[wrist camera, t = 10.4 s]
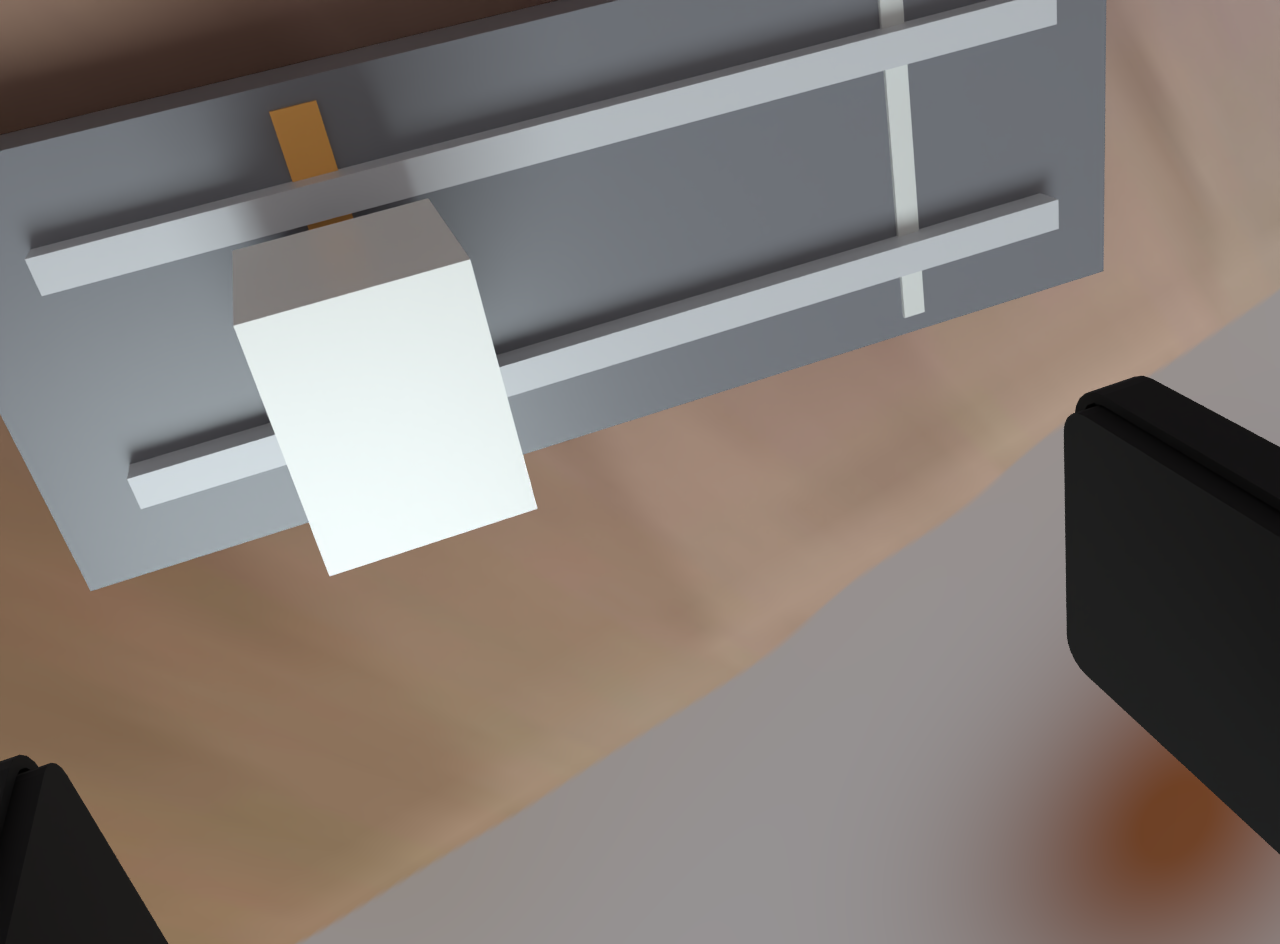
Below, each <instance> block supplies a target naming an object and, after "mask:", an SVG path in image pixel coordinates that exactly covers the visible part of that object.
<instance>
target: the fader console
mask: <svg viewBox="0 0 1280 944" xmlns="http://www.w3.org/2000/svg"><path fill="white" fill-rule="evenodd" d="M1105 66H1106V0H557V1H553V2H549V3H545V4H541V5H537V6H533V7H528V8H524V9H520V10H516V11H512V12H508V13H504V14H499V15H495V16H491V17H487V18H483V19H479V20H475V21H470V22H466V23H462V24H458V25H454V26H450V27H446V28H441V29H437V30H433V31H429V32H425V33H421V34H417V35H412V36H408V37H404V38H400V39H396V40H392V41H388V42H383V43H379V44H375V45H371V46H367V47H363V48H359V49H354V50H350V51H346V52H342V53H338V54H334V55H330V56H326V57H321V58H317V59H313V60H309V61H305V62H301V63H297V64H292V65H288V66H284V67H280V68H276V69H272V70H268V71H263V72H259V73H255V74H251V75H247V76H243V77H239V78H234V79H230V80H226V81H222V82H218V83H214V84H210V85H205V86H201V87H197V88H193V89H189V90H185V91H181V92H176V93H172V94H168V95H164V96H160V97H156V98H152V99H147V100H143V101H139V102H135V103H131V104H127V105H123V106H118V107H114V108H110V109H106V110H102V111H98V112H94V113H89V114H85V115H81V116H77V117H73V118H69V119H65V120H60V121H56V122H52V123H48V124H44V125H40V126H36V127H31V128H27V129H23V130H19V131H15V132H11V133H7V134H2V135H0V414H1V416H2V418H3V420H4V422H5V424H6V426H7V428H8V430H9V432H10V434H11V436H12V438H13V440H14V442H15V444H16V446H17V448H18V450H19V452H20V453H21V455H22V457H23V459H24V461H25V463H26V465H27V467H28V469H29V471H30V473H31V475H32V477H33V479H34V481H35V483H36V485H37V487H38V489H39V491H40V493H41V495H42V497H43V498H44V500H45V502H46V504H47V506H48V508H49V510H50V512H51V514H52V516H53V518H54V520H55V522H56V524H57V526H58V528H59V530H60V532H61V534H62V536H63V538H64V540H65V542H66V544H67V545H68V547H69V549H70V551H71V553H72V555H73V557H74V559H75V561H76V563H77V565H78V567H79V569H80V571H81V573H82V575H83V577H84V579H85V581H86V583H87V585H88V587H89V589H90V590H91V591H93V590H96V589H99V588H102V587H105V586H108V585H112V584H115V583H118V582H121V581H124V580H127V579H131V578H134V577H137V576H140V575H143V574H146V573H150V572H153V571H156V570H159V569H162V568H165V567H169V566H172V565H175V564H178V563H181V562H184V561H188V560H191V559H194V558H197V557H200V556H203V555H207V554H210V553H213V552H216V551H219V550H222V549H226V548H229V547H232V546H235V545H238V544H241V543H245V542H248V541H251V540H254V539H257V538H260V537H263V536H267V535H270V534H273V533H276V532H279V531H282V530H286V529H289V528H292V527H295V526H298V525H301V524H305V523H308V522H309V521H308V519H307V516H306V513H305V511H304V508H303V506H302V503H301V500H300V498H299V495H298V493H297V490H296V487H295V485H294V482H293V480H292V477H291V474H290V472H289V469H288V467H287V464H286V461H285V459H284V456H283V454H282V451H281V448H280V446H279V443H278V441H277V438H276V435H275V433H274V430H273V428H272V425H271V422H270V420H269V417H268V415H267V412H266V409H265V407H264V404H263V402H262V399H261V396H260V394H259V391H258V389H257V386H256V383H255V381H254V378H253V376H252V373H251V370H250V368H249V365H248V363H247V360H246V357H245V355H244V352H243V350H242V347H241V344H240V342H239V339H238V337H237V334H236V331H235V329H234V326H233V263H232V251H234V250H237V249H241V248H245V247H249V246H252V245H256V244H260V243H263V242H267V241H271V240H275V239H278V238H282V237H286V236H290V235H293V234H297V233H301V232H304V231H308V230H312V229H316V228H319V227H323V226H327V225H330V224H334V223H338V222H342V221H345V220H349V219H353V218H356V217H360V216H364V215H368V214H371V213H375V212H379V211H382V210H386V209H390V208H394V207H397V206H401V205H405V204H409V203H412V202H416V201H420V200H423V199H427V198H428V199H429V200H430V202H431V203H432V205H433V206H434V207H435V209H436V210H437V212H438V213H439V215H440V216H441V218H442V219H443V220H444V222H445V223H446V225H447V226H448V228H449V229H450V231H451V232H452V234H453V235H454V236H455V238H456V239H457V241H458V242H459V244H460V245H461V247H462V248H463V249H464V251H465V252H466V254H467V255H468V257H469V258H470V260H471V264H472V267H473V271H474V275H475V279H476V282H477V286H478V290H479V294H480V297H481V301H482V305H483V308H484V312H485V316H486V320H487V323H488V327H489V331H490V334H491V338H492V342H493V346H494V349H495V353H496V357H497V361H498V364H499V368H500V372H501V375H502V379H503V383H504V387H505V390H506V394H507V398H508V401H509V405H510V409H511V413H512V416H513V420H514V424H515V427H516V431H517V435H518V439H519V442H520V446H521V450H522V454H526V453H529V452H532V451H536V450H539V449H542V448H545V447H548V446H551V445H555V444H558V443H561V442H564V441H567V440H570V439H574V438H577V437H580V436H583V435H586V434H589V433H593V432H596V431H599V430H602V429H605V428H608V427H612V426H615V425H618V424H621V423H624V422H627V421H631V420H634V419H637V418H640V417H643V416H646V415H650V414H653V413H656V412H659V411H662V410H665V409H668V408H672V407H675V406H678V405H681V404H684V403H687V402H691V401H694V400H697V399H700V398H703V397H706V396H710V395H713V394H716V393H719V392H722V391H725V390H729V389H732V388H735V387H738V386H741V385H744V384H748V383H751V382H754V381H757V380H760V379H763V378H767V377H770V376H773V375H776V374H779V373H782V372H786V371H789V370H792V369H795V368H798V367H801V366H805V365H808V364H811V363H814V362H817V361H820V360H824V359H827V358H830V357H833V356H836V355H839V354H843V353H846V352H849V351H852V350H855V349H858V348H862V347H865V346H868V345H871V344H874V343H877V342H880V341H884V340H887V339H890V338H893V337H896V336H899V335H903V334H906V333H909V332H912V331H915V330H918V329H922V328H925V327H928V326H931V325H934V324H937V323H941V322H944V321H947V320H950V319H953V318H956V317H960V316H963V315H966V314H969V313H972V312H975V311H979V310H982V309H985V308H988V307H991V306H994V305H998V304H1001V303H1004V302H1007V301H1010V300H1013V299H1017V298H1020V297H1023V296H1026V295H1029V294H1032V293H1036V292H1039V291H1042V290H1045V289H1048V288H1051V287H1055V286H1058V285H1061V284H1064V283H1067V282H1070V281H1073V280H1077V279H1080V278H1083V277H1086V276H1089V275H1092V274H1096V273H1099V272H1102V271H1103V257H1104V162H1105Z"/></svg>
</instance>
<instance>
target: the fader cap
mask: <svg viewBox="0 0 1280 944" xmlns="http://www.w3.org/2000/svg"><path fill="white" fill-rule="evenodd" d="M232 263H233V326H234V329H235V331H236V334H237V337H238V339H239V342H240V344H241V347H242V350H243V352H244V355H245V357H246V360H247V363H248V365H249V368H250V370H251V373H252V376H253V378H254V381H255V383H256V386H257V389H258V391H259V394H260V396H261V399H262V402H263V404H264V407H265V409H266V412H267V415H268V417H269V420H270V422H271V425H272V428H273V430H274V433H275V435H276V438H277V441H278V443H279V446H280V448H281V451H282V454H283V456H284V459H285V461H286V464H287V467H288V469H289V472H290V474H291V477H292V480H293V482H294V485H295V487H296V490H297V493H298V495H299V498H300V500H301V503H302V506H303V508H304V511H305V513H306V516H307V519H308V521H309V524H310V526H311V529H312V532H313V534H314V537H315V539H316V542H317V545H318V547H319V550H320V552H321V555H322V558H323V560H324V563H325V565H326V568H327V571H328V573H329V576H332V575H335V574H338V573H341V572H344V571H347V570H350V569H353V568H357V567H360V566H363V565H366V564H369V563H372V562H375V561H378V560H381V559H384V558H387V557H390V556H393V555H396V554H399V553H403V552H406V551H409V550H412V549H415V548H418V547H421V546H424V545H427V544H430V543H433V542H436V541H439V540H442V539H446V538H449V537H452V536H455V535H458V534H461V533H464V532H467V531H470V530H473V529H476V528H479V527H482V526H485V525H488V524H492V523H495V522H498V521H501V520H504V519H507V518H510V517H513V516H516V515H519V514H522V513H525V512H528V511H531V510H535V509H537V506H536V502H535V498H534V494H533V491H532V487H531V483H530V480H529V476H528V472H527V468H526V465H525V461H524V457H523V454H522V450H521V446H520V442H519V439H518V435H517V431H516V427H515V424H514V420H513V416H512V413H511V409H510V405H509V401H508V398H507V394H506V390H505V387H504V383H503V379H502V375H501V372H500V368H499V364H498V361H497V357H496V353H495V349H494V346H493V342H492V338H491V334H490V331H489V327H488V323H487V320H486V316H485V312H484V308H483V305H482V301H481V297H480V294H479V290H478V286H477V282H476V279H475V275H474V271H473V267H472V264H471V260H470V258H469V257H468V255H467V254H466V252H465V251H464V249H463V248H462V247H461V245H460V244H459V242H458V241H457V239H456V238H455V236H454V235H453V234H452V232H451V231H450V229H449V228H448V226H447V225H446V223H445V222H444V220H443V219H442V218H441V216H440V215H439V213H438V212H437V210H436V209H435V207H434V206H433V205H432V203H431V202H430V200H429V199H428V198H427V199H423V200H420V201H416V202H412V203H409V204H405V205H401V206H397V207H394V208H390V209H386V210H382V211H379V212H375V213H371V214H368V215H364V216H360V217H356V218H353V219H349V220H345V221H342V222H338V223H334V224H330V225H327V226H323V227H319V228H316V229H312V230H308V231H304V232H301V233H297V234H293V235H290V236H286V237H282V238H278V239H275V240H271V241H267V242H263V243H260V244H256V245H252V246H249V247H245V248H241V249H237V250H234V251H232Z"/></svg>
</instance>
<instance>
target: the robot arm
mask: <svg viewBox="0 0 1280 944" xmlns="http://www.w3.org/2000/svg"><path fill="white" fill-rule="evenodd" d="M1064 469H1065V470H1064V471H1065V472H1064V473H1065V534H1066V535H1065V538H1066V539H1065V540H1066V602H1067V603H1066V608H1067V639H1068V644H1069V648H1070V651H1071V653H1072V655H1073V657H1074V659H1075V661H1076V663H1077V664H1078V666H1079V667H1080V669H1081V670H1082V671H1083V672H1084V673H1085V674H1086V675H1087V676H1088V677H1089V678H1090V679H1091V680H1092V681H1093V682H1095V683H1096V684H1097V685H1098V686H1099V687H1100V688H1101V689H1102V690H1103V691H1104V692H1105V693H1106V694H1107V695H1109V696H1110V697H1111V698H1112V699H1113V700H1114V701H1115V702H1116V703H1117V704H1118V705H1119V706H1120V707H1122V708H1123V709H1124V710H1125V711H1126V712H1127V713H1128V714H1129V715H1130V716H1131V717H1132V718H1133V719H1134V720H1136V721H1137V722H1138V723H1139V724H1140V725H1141V726H1142V727H1143V728H1144V729H1145V730H1146V731H1147V732H1149V733H1150V734H1151V735H1152V736H1153V737H1154V738H1155V739H1156V740H1157V741H1158V742H1159V743H1160V744H1161V745H1162V746H1164V747H1165V748H1166V749H1167V750H1168V751H1169V752H1170V753H1171V754H1172V755H1173V756H1174V757H1176V759H1178V760H1179V761H1180V762H1181V763H1182V764H1183V765H1184V766H1185V767H1186V768H1187V769H1188V770H1189V771H1191V772H1192V773H1193V774H1194V775H1195V776H1196V777H1197V778H1198V779H1199V780H1200V781H1201V782H1202V783H1204V784H1205V785H1206V786H1207V787H1208V788H1209V789H1210V790H1211V791H1212V792H1213V793H1214V794H1215V795H1216V796H1218V797H1219V798H1220V799H1221V800H1222V801H1223V802H1224V803H1225V804H1226V805H1227V806H1228V807H1229V808H1231V809H1232V810H1233V811H1234V812H1235V813H1236V814H1237V815H1238V816H1239V817H1240V818H1241V819H1242V820H1243V821H1244V822H1246V823H1247V824H1248V825H1249V826H1250V827H1251V828H1252V829H1253V830H1254V831H1255V832H1256V833H1258V834H1259V835H1260V836H1261V837H1262V838H1263V839H1264V840H1265V841H1266V842H1267V843H1268V844H1269V845H1270V846H1271V847H1273V848H1274V849H1275V850H1276V851H1277V852H1278V853H1279V854H1280V447H1279V446H1277V445H1275V444H1273V443H1271V442H1269V441H1267V440H1266V439H1264V438H1262V437H1260V436H1258V435H1256V434H1254V433H1253V432H1251V431H1249V430H1247V429H1245V428H1243V427H1241V426H1239V425H1238V424H1236V423H1234V422H1232V421H1230V420H1228V419H1226V418H1224V417H1223V416H1221V415H1219V414H1217V413H1215V412H1213V411H1211V410H1209V409H1207V408H1206V407H1204V406H1202V405H1200V404H1198V403H1196V402H1194V401H1192V400H1191V399H1189V398H1187V397H1185V396H1183V395H1181V394H1179V393H1178V392H1176V391H1174V390H1172V389H1170V388H1168V387H1166V386H1164V385H1162V384H1161V383H1159V382H1157V381H1155V380H1153V379H1151V378H1148V377H1145V376H1137V377H1132V378H1130V379H1127V380H1124V381H1121V382H1118V383H1115V384H1112V385H1109V386H1106V387H1103V388H1100V389H1097V390H1094V391H1091V392H1088V393H1086V394H1084V395H1083V396H1082V397H1081V398H1080V399H1079V401H1078V403H1077V405H1076V410H1075V413H1073V414H1071V415H1070V416H1069V417H1068V418H1067V420H1066V422H1065V426H1064ZM0 944H168V942H167V941H166V939H165V937H164V936H163V934H162V932H161V931H160V929H159V927H158V926H157V924H156V922H155V921H154V919H153V917H152V916H151V914H150V912H149V911H148V909H147V907H146V906H145V904H144V902H143V901H142V899H141V897H140V896H139V894H138V892H137V891H136V889H135V887H134V886H133V884H132V882H131V881H130V879H129V877H128V876H127V874H126V873H125V871H124V869H123V868H122V866H121V864H120V863H119V861H118V859H117V858H116V856H115V854H114V853H113V851H112V849H111V848H110V846H109V844H108V843H107V841H106V839H105V838H104V836H103V834H102V833H101V831H100V829H99V828H98V826H97V824H96V823H95V821H94V819H93V818H92V816H91V814H90V813H89V811H88V809H87V808H86V806H85V804H84V803H83V801H82V799H81V798H80V796H79V794H78V793H77V791H76V789H75V788H74V786H73V784H72V783H71V781H70V779H69V778H68V776H67V775H66V773H65V772H64V770H63V769H62V768H61V767H60V766H59V765H57V764H55V763H49V764H47V765H44V766H41V767H38V766H37V765H36V763H35V762H34V761H33V760H31V759H30V758H29V757H27V756H24V755H18V756H15V757H12V758H9V759H6V760H3V761H0Z"/></svg>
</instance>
